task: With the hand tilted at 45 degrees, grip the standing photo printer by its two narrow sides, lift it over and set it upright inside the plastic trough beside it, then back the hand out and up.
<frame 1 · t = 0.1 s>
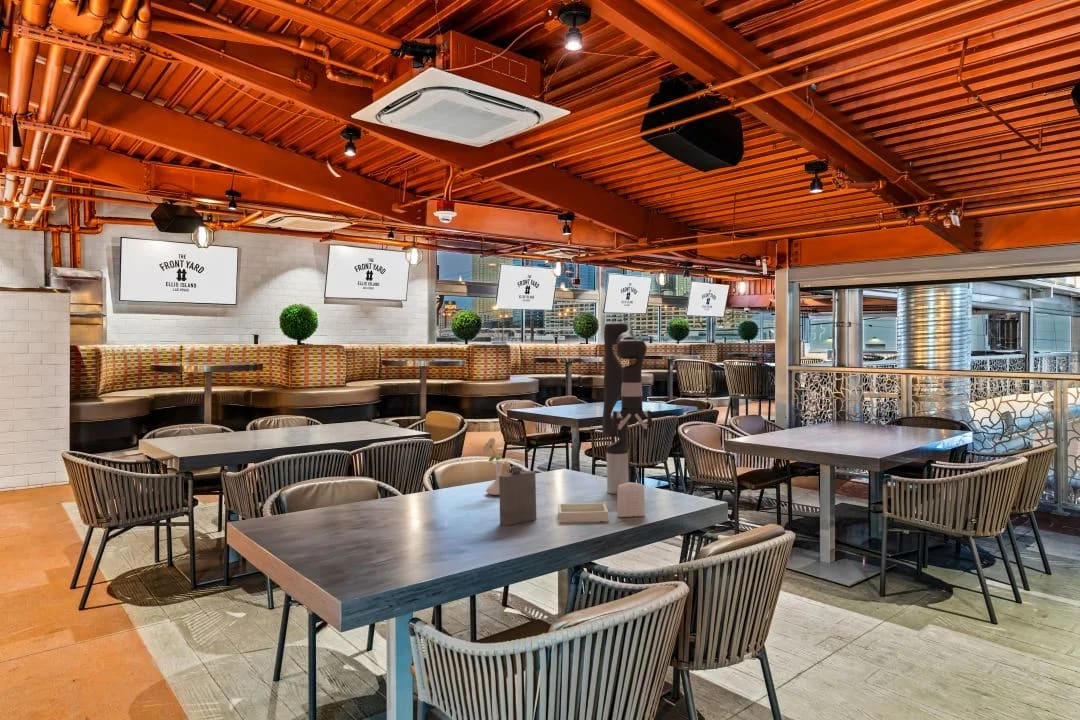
hand: (632, 439, 238), 29 cm above the table, tool pointing down, fingers open, 8 cm apart
flower in vase: (497, 495, 284), on the table
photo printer: (631, 516, 243), on the table
trough: (582, 517, 243), on the table
flask: (517, 522, 239), on the table
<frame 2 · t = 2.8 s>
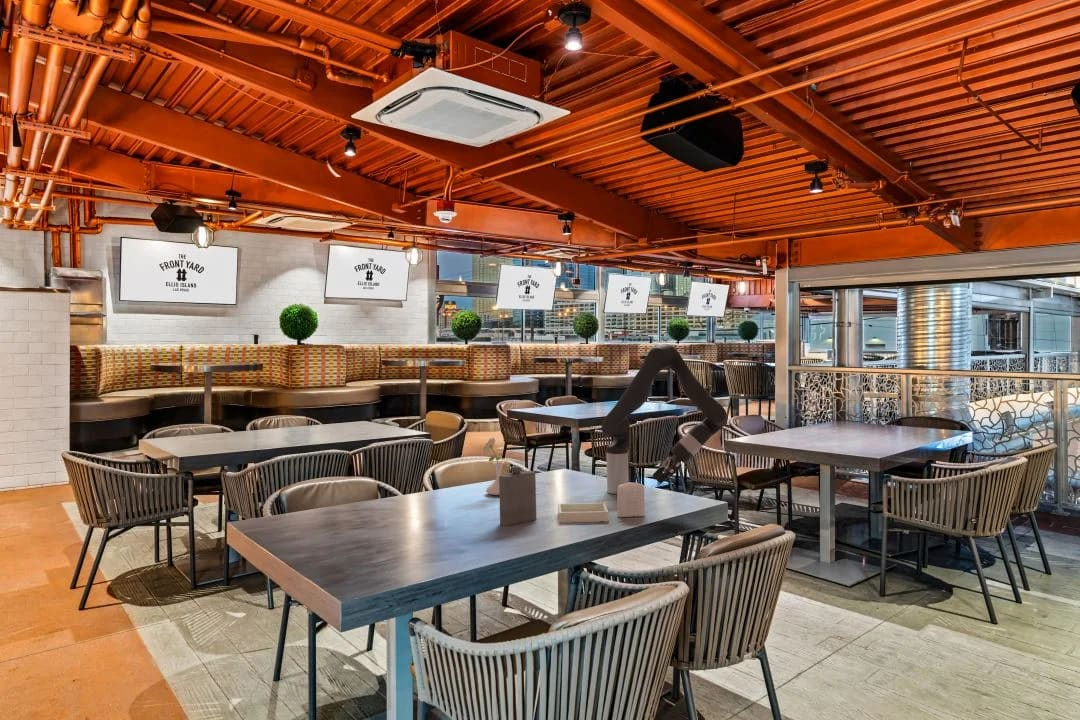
hand: (656, 479, 243), 13 cm above the table, tool tilted 45°, fingers open, 8 cm apart
nothing on the table moved.
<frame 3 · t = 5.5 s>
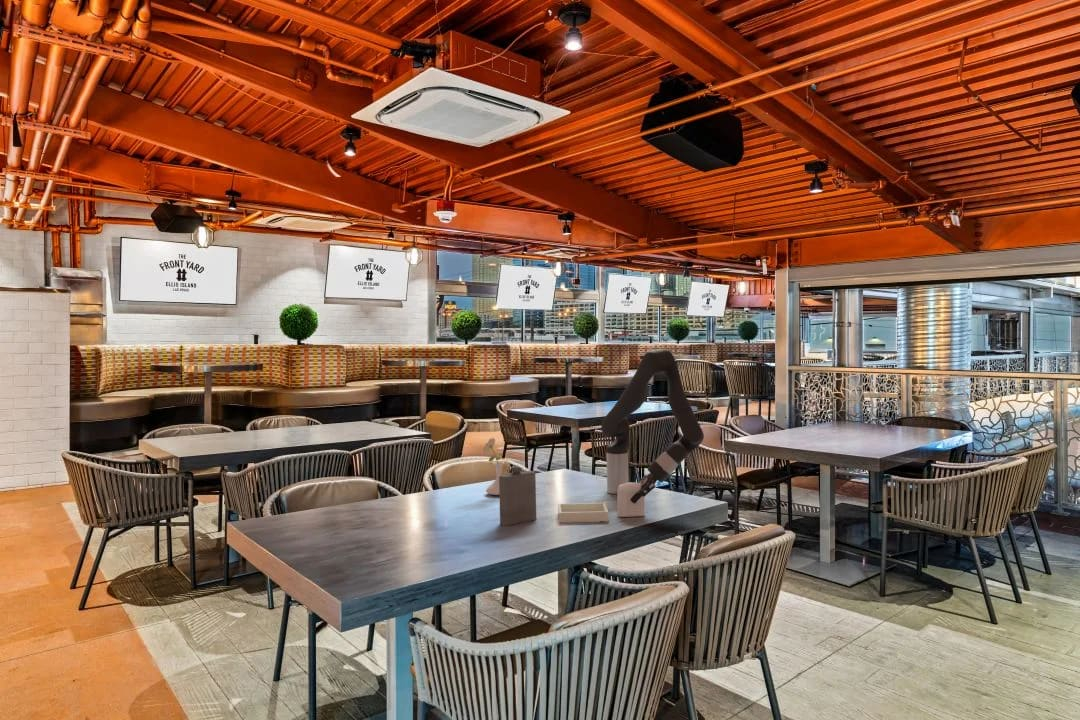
hand: (631, 499, 243), 6 cm above the table, tool tilted 45°, fingers closed on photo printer, 4 cm apart
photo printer: (631, 516, 243), on the table, touching gripper
everything else where it was.
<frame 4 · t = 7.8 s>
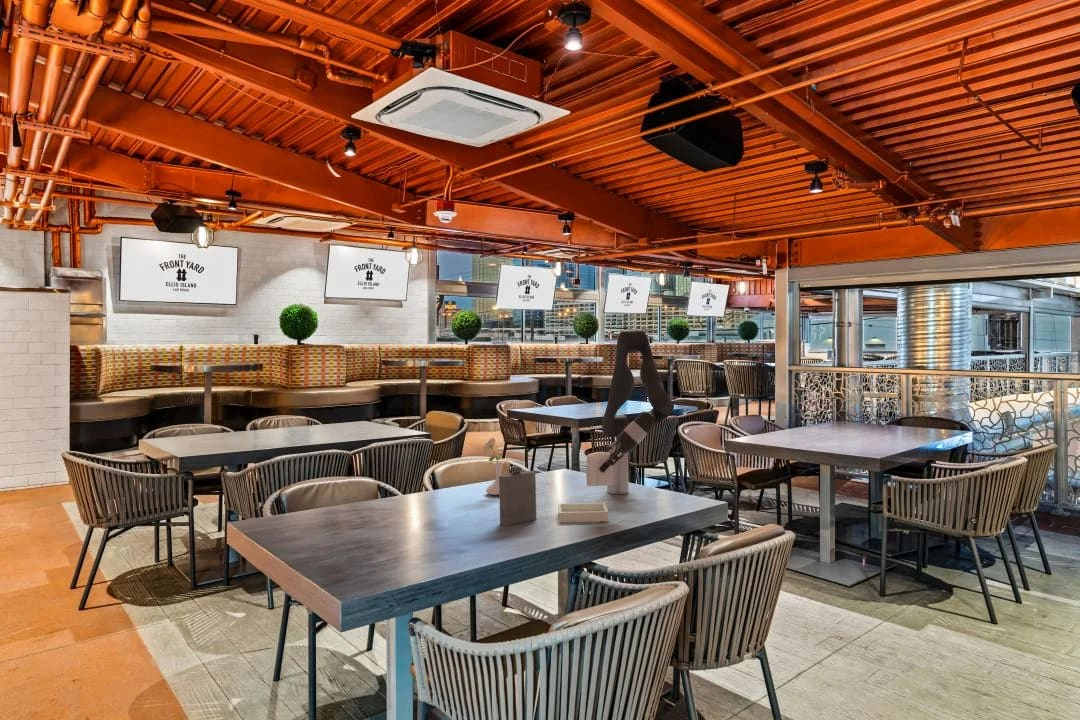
hand: (600, 469, 242), 18 cm above the table, tool tilted 45°, fingers closed on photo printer, 4 cm apart
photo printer: (600, 485, 243), point 11 cm above the table, touching gripper
everything else where it was.
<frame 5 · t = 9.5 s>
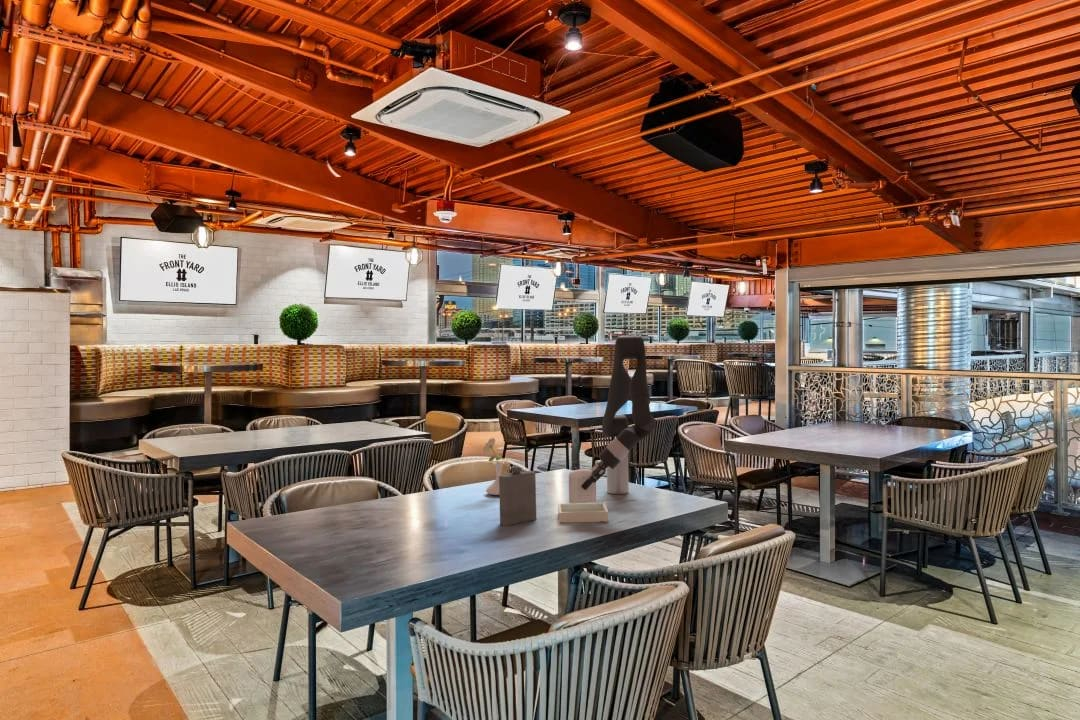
hand: (582, 486, 243), 11 cm above the table, tool tilted 45°, fingers closed on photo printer, 4 cm apart
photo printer: (582, 503, 243), point 5 cm above the table, touching gripper
everything else where it was.
when the fingers open (8 cm above the table, at t = 10.5 s): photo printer drops 1 cm, resting on trough.
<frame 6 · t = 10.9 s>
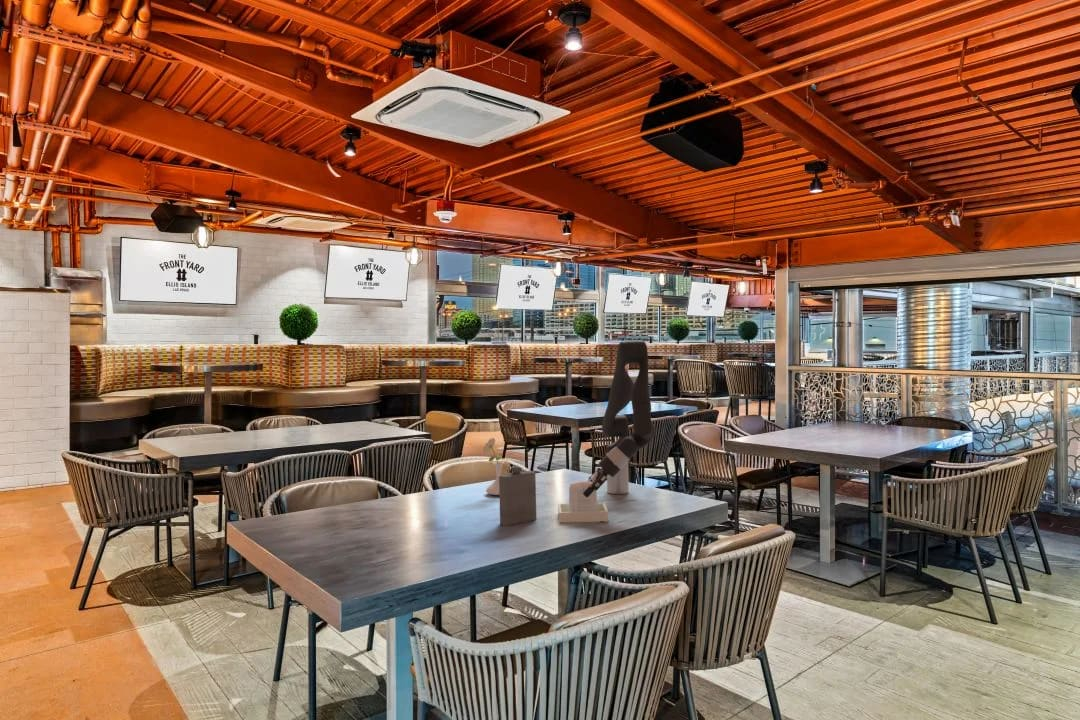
hand: (583, 493, 243), 9 cm above the table, tool tilted 45°, fingers open, 8 cm apart
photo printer: (583, 514, 243), point 1 cm above the table, touching trough
everything else where it was.
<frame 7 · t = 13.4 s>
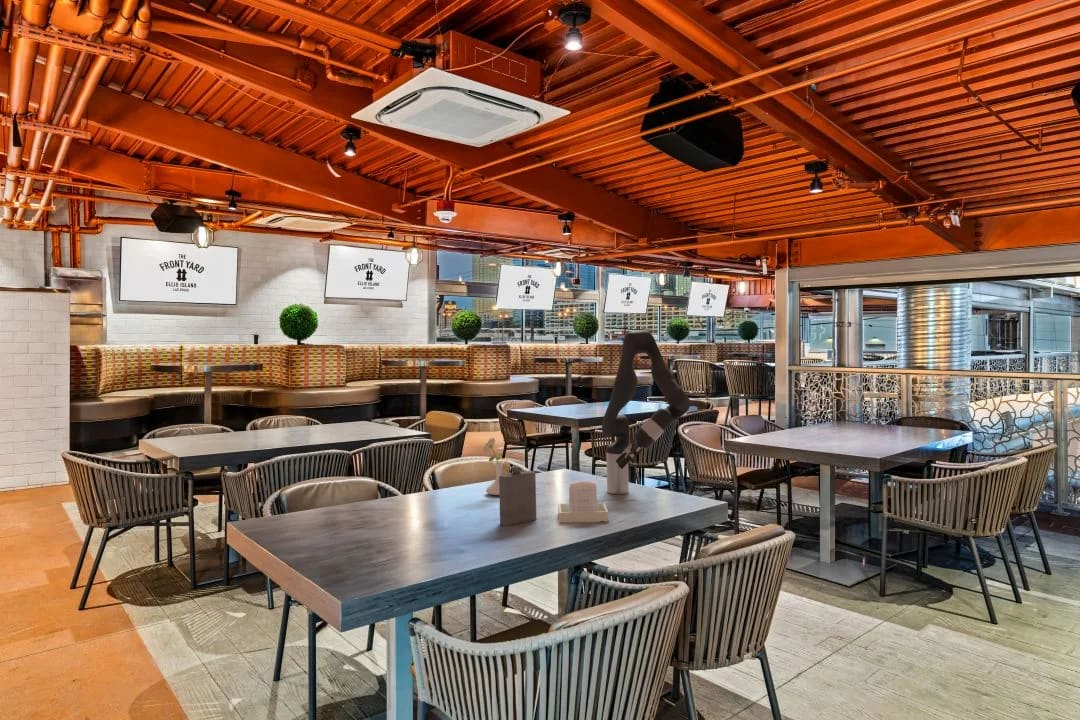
hand: (618, 465, 243), 19 cm above the table, tool tilted 45°, fingers open, 8 cm apart
nothing on the table moved.
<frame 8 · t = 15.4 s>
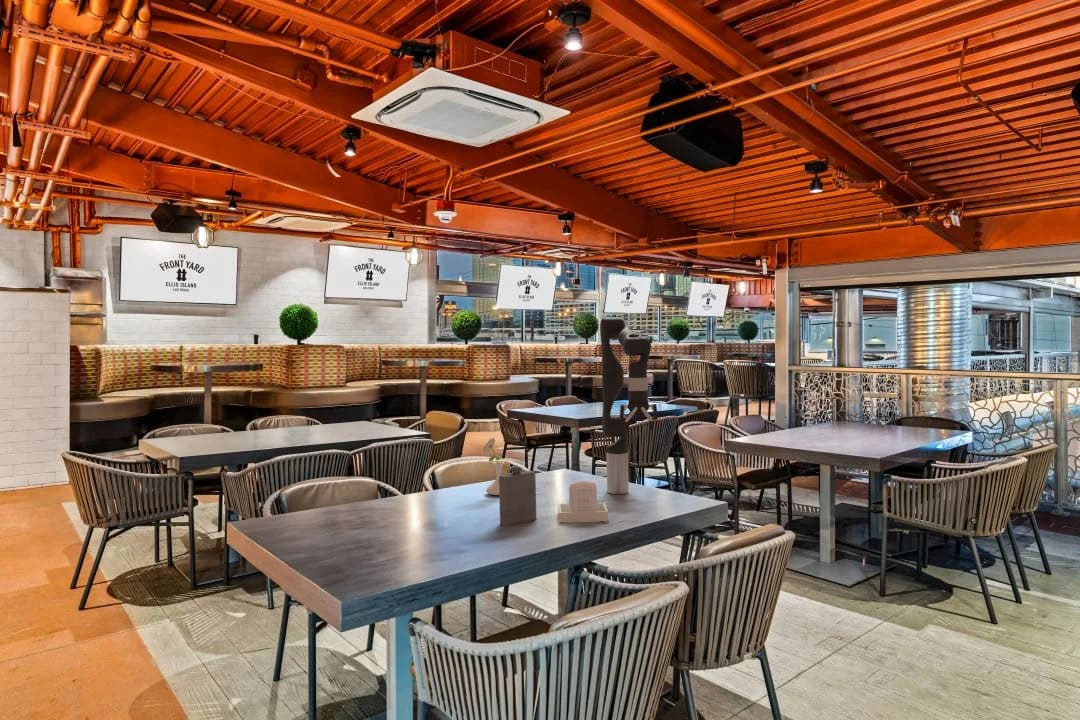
hand: (638, 431, 252), 30 cm above the table, tool pointing down, fingers open, 8 cm apart
nothing on the table moved.
at the end: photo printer inside the target area on the trough (0.4 cm from its centre), point 0.8 cm above the trough's base; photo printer tilted 0°; the gripper is holding nothing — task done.
